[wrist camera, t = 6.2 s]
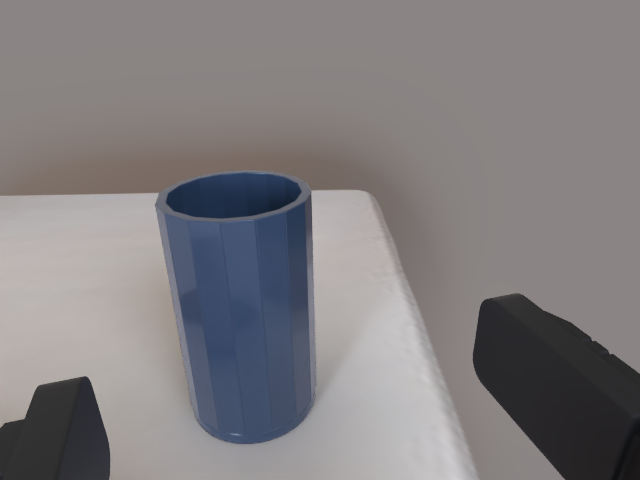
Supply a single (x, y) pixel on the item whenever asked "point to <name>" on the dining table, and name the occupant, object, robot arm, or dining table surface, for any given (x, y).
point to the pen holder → (243, 299)
